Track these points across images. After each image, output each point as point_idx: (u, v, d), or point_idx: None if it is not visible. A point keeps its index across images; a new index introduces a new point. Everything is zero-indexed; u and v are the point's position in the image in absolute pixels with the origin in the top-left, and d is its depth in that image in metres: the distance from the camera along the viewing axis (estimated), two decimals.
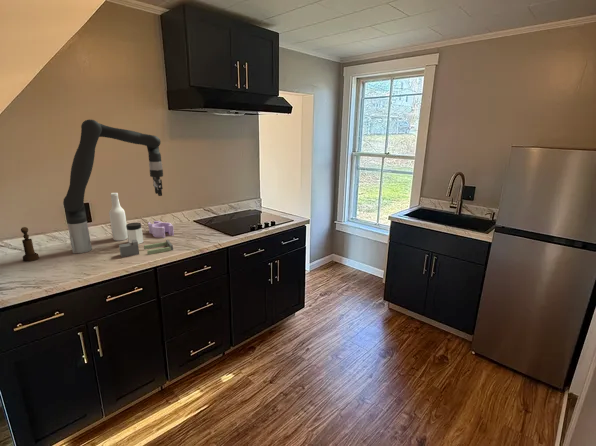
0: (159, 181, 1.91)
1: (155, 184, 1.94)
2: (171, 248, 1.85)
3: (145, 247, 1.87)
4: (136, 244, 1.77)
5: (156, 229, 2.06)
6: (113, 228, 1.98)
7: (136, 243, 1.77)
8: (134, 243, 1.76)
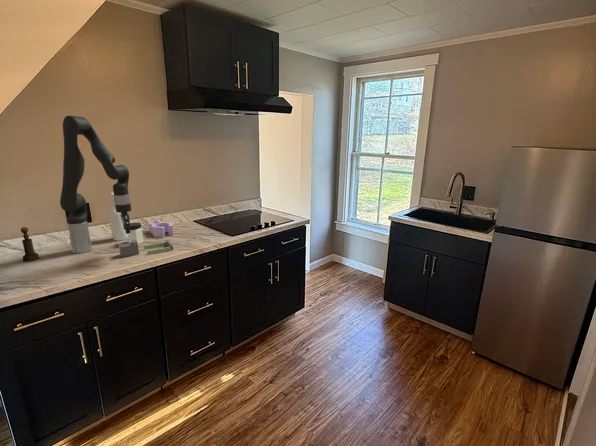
0: (126, 217, 1.67)
1: (122, 220, 1.70)
2: (171, 248, 1.85)
3: (145, 247, 1.87)
4: (136, 244, 1.77)
5: (155, 228, 2.07)
6: (113, 228, 1.98)
7: (136, 243, 1.76)
8: (134, 243, 1.76)
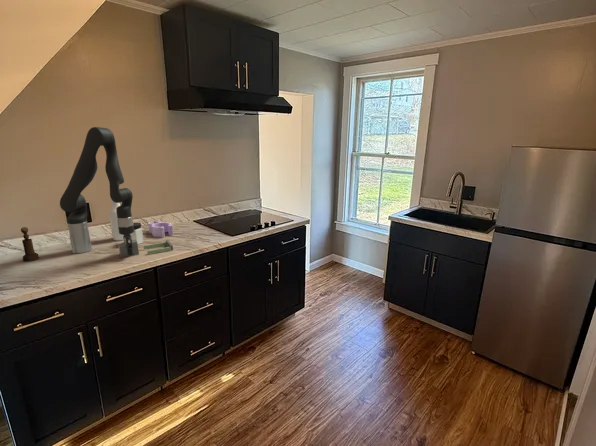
0: (129, 241, 1.70)
1: (125, 242, 1.74)
2: (171, 248, 1.85)
3: (145, 247, 1.87)
4: (136, 244, 1.77)
5: (155, 228, 2.07)
6: (113, 228, 1.98)
7: (136, 243, 1.76)
8: (134, 243, 1.76)
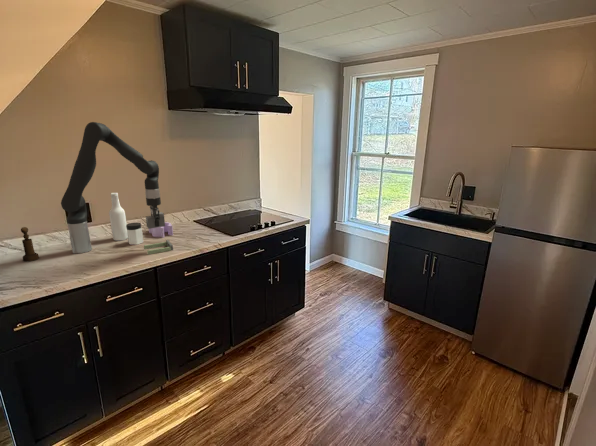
0: (156, 212, 1.75)
1: (152, 213, 1.78)
2: (171, 248, 1.85)
3: (145, 247, 1.87)
4: (162, 216, 1.81)
5: (155, 228, 2.07)
6: (113, 228, 1.98)
7: (162, 215, 1.81)
8: (160, 215, 1.80)
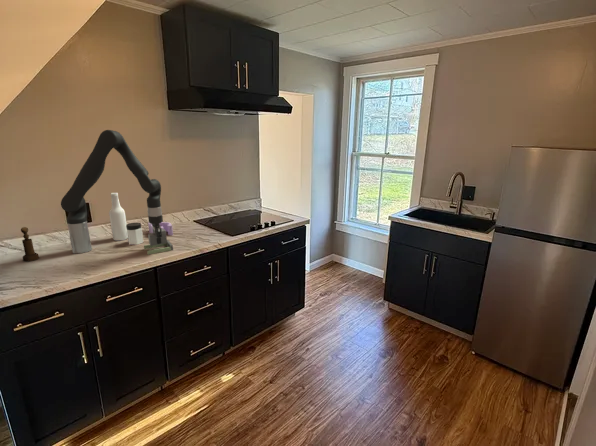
0: (158, 230, 1.78)
1: (154, 231, 1.81)
2: (171, 248, 1.85)
3: (145, 247, 1.87)
4: (164, 233, 1.84)
5: None
6: (113, 228, 1.98)
7: (164, 232, 1.84)
8: (162, 232, 1.83)
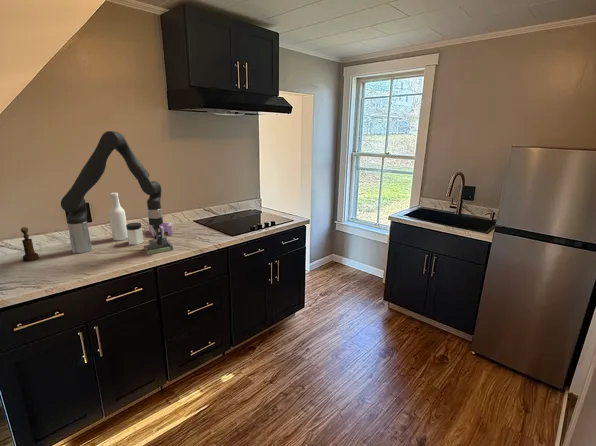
0: (159, 230, 1.78)
1: (154, 233, 1.81)
2: (171, 248, 1.85)
3: (145, 247, 1.87)
4: (165, 239, 1.85)
5: None
6: (113, 228, 1.98)
7: (165, 238, 1.85)
8: (163, 238, 1.84)
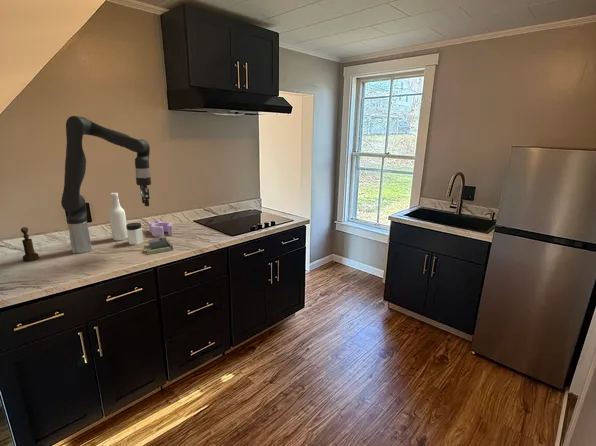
0: (146, 190, 1.72)
1: (142, 193, 1.75)
2: (171, 248, 1.85)
3: (145, 247, 1.87)
4: (164, 239, 1.85)
5: (155, 228, 2.07)
6: (113, 228, 1.98)
7: (165, 238, 1.85)
8: (163, 238, 1.84)
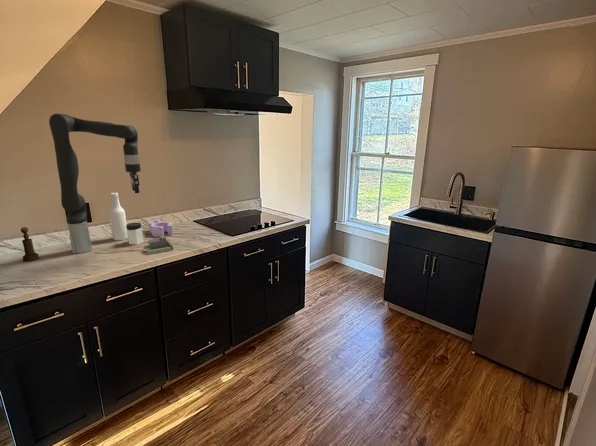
0: (135, 177, 1.71)
1: (131, 180, 1.74)
2: (171, 248, 1.85)
3: (145, 247, 1.87)
4: (164, 239, 1.85)
5: (155, 228, 2.08)
6: (113, 228, 1.98)
7: (164, 238, 1.85)
8: (163, 238, 1.84)
